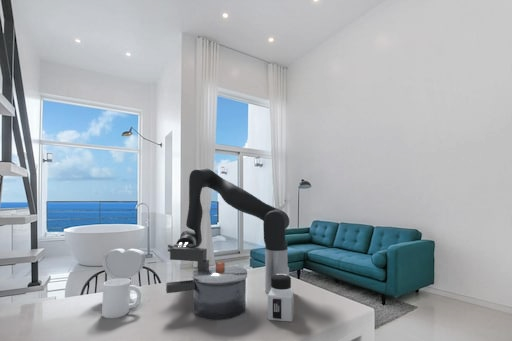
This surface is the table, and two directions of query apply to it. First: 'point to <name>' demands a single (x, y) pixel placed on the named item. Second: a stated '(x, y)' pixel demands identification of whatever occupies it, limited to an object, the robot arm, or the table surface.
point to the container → (281, 298)
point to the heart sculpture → (123, 264)
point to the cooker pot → (214, 298)
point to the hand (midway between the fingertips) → (179, 251)
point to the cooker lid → (208, 267)
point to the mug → (118, 297)
